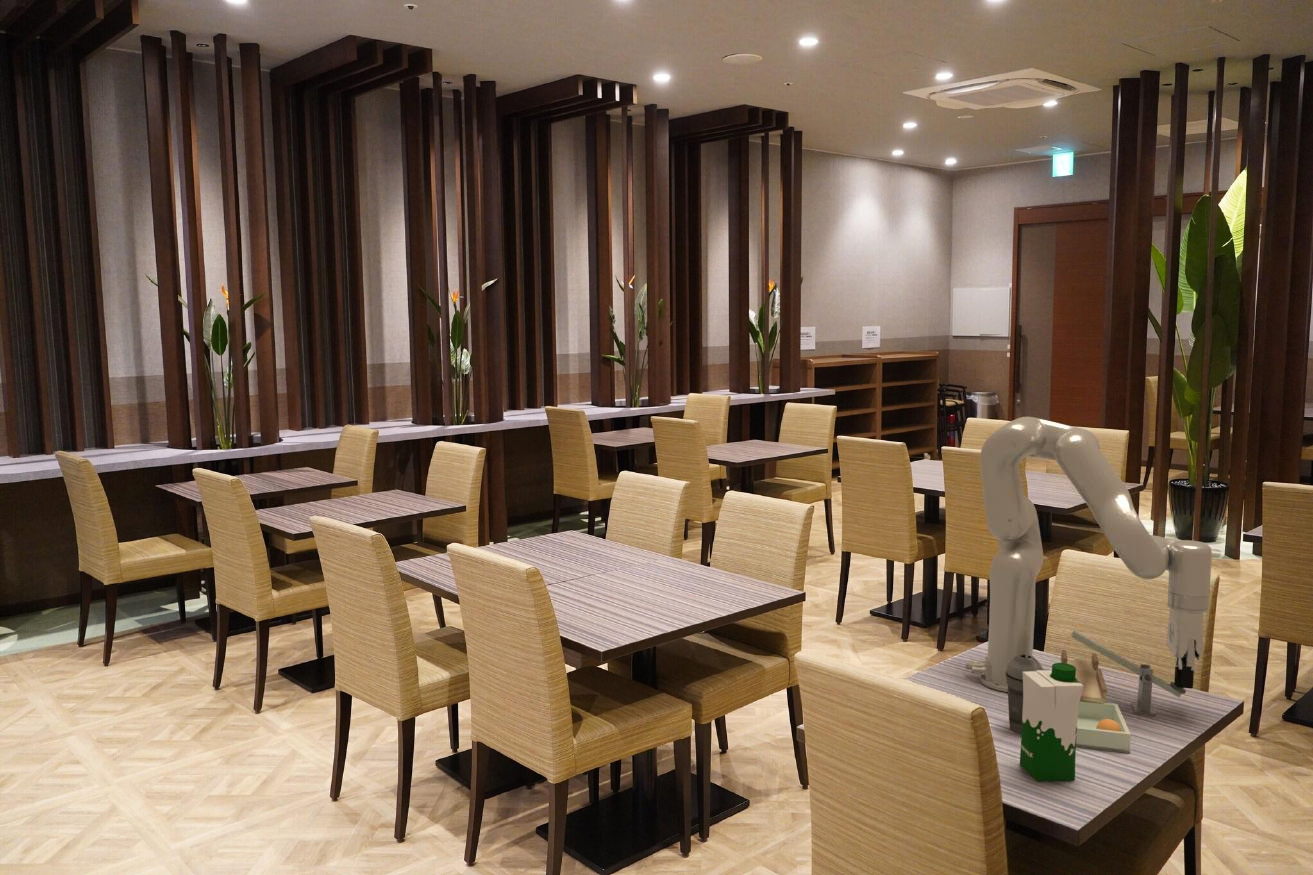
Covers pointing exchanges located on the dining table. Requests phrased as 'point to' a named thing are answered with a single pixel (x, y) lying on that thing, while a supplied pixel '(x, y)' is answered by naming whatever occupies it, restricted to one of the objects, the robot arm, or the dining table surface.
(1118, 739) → the shallow mint tray
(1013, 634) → the robot arm
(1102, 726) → the ball
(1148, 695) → the pivot stand
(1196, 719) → the dining table surface
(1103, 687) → the ramp
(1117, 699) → the dining table surface
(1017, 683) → the beverage cup
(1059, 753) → the milk carton
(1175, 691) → the lever
